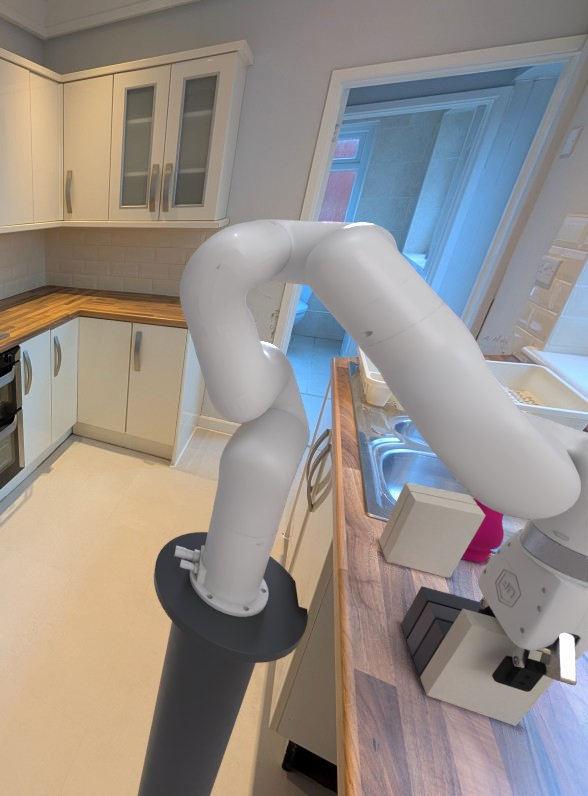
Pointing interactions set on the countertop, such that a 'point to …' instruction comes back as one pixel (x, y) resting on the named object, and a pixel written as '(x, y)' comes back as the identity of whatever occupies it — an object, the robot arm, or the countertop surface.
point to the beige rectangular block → (430, 529)
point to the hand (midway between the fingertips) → (496, 658)
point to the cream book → (479, 670)
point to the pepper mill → (485, 535)
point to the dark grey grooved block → (432, 622)
